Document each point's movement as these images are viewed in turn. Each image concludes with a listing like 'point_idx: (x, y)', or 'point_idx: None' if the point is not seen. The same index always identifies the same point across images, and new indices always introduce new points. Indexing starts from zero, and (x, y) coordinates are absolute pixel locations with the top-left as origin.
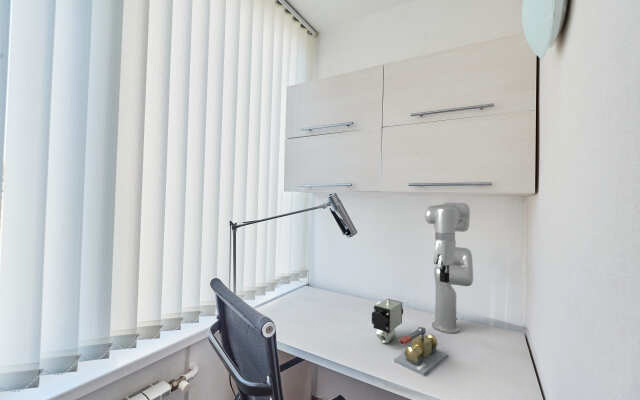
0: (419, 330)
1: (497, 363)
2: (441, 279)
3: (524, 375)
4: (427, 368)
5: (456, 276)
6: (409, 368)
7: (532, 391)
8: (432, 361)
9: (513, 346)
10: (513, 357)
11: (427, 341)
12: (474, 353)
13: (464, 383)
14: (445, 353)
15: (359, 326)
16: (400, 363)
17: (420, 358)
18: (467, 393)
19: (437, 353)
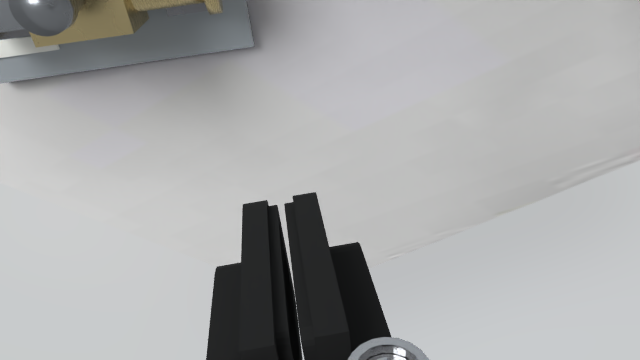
0: (2, 12)
1: (378, 177)
2: (216, 272)
3: (368, 247)
4: (43, 70)
5: None
6: None
7: (293, 285)
8: (118, 46)
9: (579, 149)
10: (474, 185)
11: (85, 34)
12: (389, 95)
13: (133, 183)
14: (248, 38)
15: None
16: None
17: (19, 36)
18: (91, 214)
19: (209, 15)
